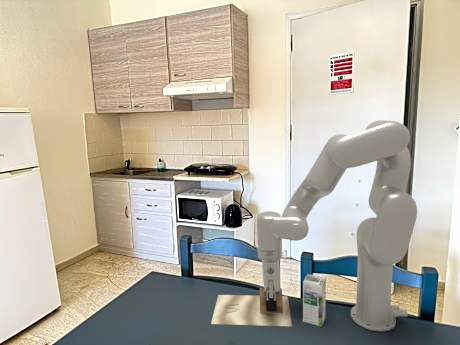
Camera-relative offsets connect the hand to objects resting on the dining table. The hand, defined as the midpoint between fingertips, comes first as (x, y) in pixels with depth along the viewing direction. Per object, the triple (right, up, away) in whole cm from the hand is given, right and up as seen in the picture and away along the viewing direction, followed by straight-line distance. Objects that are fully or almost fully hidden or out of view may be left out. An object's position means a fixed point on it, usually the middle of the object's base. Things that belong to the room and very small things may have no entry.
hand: (271, 305), depth 102 cm
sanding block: (0, -2, 0) cm, 2 cm away
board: (-6, -3, +1) cm, 7 cm away
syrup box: (+12, -4, -5) cm, 14 cm away
